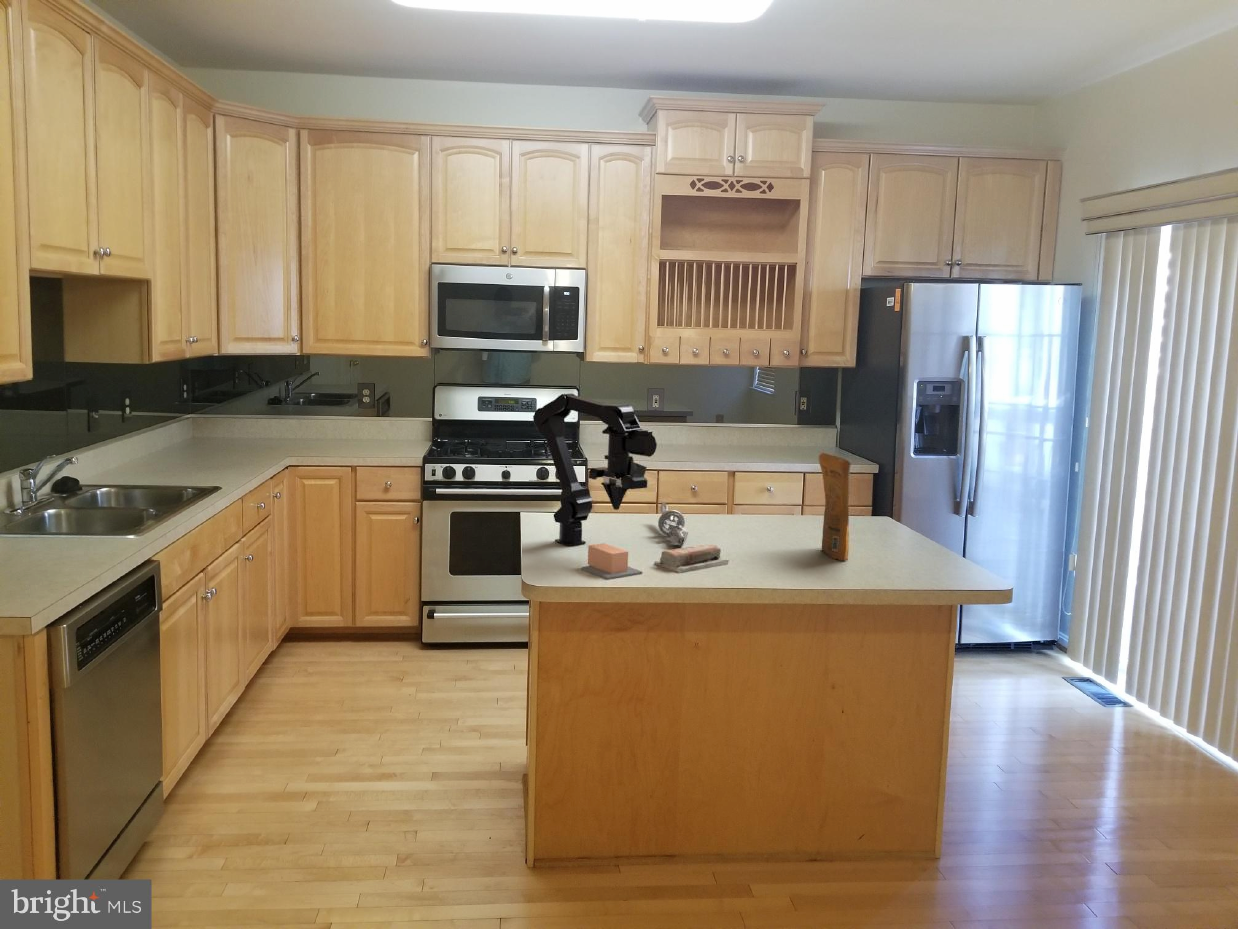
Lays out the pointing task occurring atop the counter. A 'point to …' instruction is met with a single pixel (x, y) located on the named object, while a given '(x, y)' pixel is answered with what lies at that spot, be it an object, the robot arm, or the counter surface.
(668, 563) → the packaged product
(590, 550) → the terracotta block
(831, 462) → the pancake mix bag
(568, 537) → the robot arm
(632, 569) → the gray square plate
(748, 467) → the counter surface
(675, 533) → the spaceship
